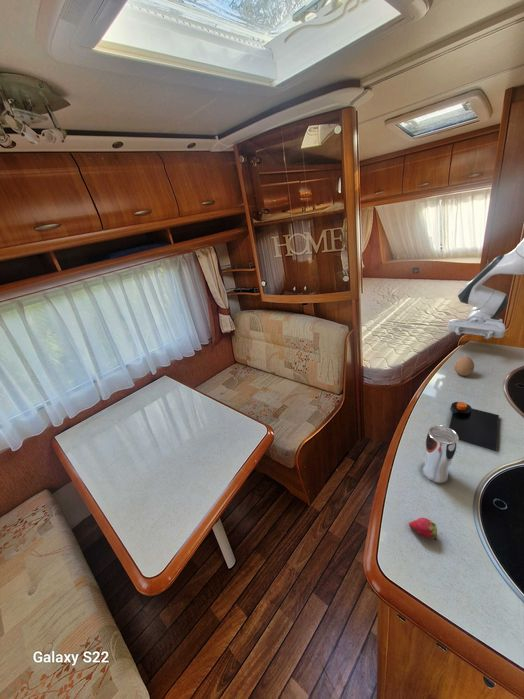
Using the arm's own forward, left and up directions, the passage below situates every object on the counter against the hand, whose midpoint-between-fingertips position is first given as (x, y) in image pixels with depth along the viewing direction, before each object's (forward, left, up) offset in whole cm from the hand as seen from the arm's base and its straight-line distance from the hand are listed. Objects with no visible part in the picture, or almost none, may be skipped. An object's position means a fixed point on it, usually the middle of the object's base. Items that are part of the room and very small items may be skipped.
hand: (472, 335), depth 114 cm
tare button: (+25, +30, -10) cm, 40 cm away
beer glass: (+46, +50, -13) cm, 69 cm away
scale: (+25, +36, -12) cm, 46 cm away
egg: (+8, +9, -13) cm, 18 cm away
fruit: (+58, +64, -13) cm, 87 cm away
